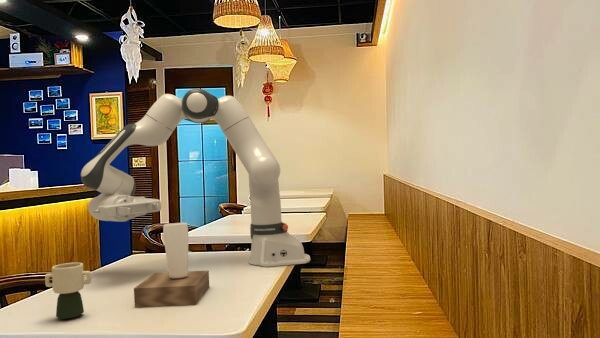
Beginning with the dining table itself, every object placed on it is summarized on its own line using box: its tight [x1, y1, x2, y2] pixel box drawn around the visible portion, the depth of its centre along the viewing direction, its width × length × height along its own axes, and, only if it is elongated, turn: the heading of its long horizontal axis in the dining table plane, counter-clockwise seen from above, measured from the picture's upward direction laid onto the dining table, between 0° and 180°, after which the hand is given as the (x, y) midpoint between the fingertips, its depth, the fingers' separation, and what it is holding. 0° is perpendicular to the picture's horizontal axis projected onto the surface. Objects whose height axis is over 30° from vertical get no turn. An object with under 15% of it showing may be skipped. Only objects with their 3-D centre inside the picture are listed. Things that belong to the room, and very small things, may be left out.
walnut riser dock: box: [133, 269, 210, 308], centre depth 136 cm, size 16×18×5 cm
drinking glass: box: [162, 222, 189, 279], centre depth 138 cm, size 7×7×15 cm
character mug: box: [44, 262, 92, 320], centre depth 122 cm, size 11×7×13 cm, turn 97°
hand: (143, 208), depth 154 cm, fingers open, 8 cm apart
